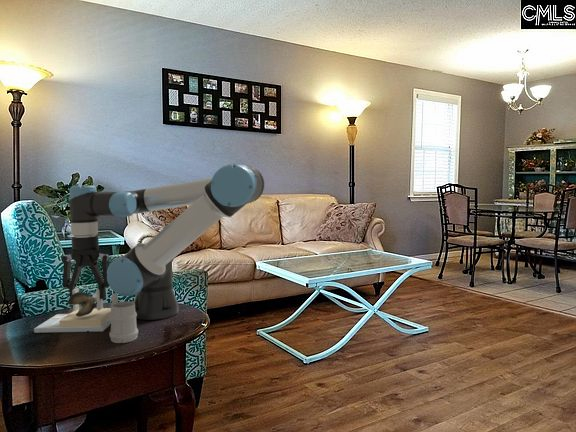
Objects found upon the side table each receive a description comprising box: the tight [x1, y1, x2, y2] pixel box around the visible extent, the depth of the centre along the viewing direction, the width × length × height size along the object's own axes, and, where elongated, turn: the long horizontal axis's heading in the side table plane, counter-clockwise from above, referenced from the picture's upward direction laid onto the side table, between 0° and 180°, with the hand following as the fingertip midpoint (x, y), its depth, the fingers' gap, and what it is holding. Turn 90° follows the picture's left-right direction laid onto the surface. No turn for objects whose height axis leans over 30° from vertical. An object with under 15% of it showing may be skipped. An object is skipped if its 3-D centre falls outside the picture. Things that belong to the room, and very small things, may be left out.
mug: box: [108, 292, 139, 344], centre depth 125 cm, size 8×12×12 cm, turn 44°
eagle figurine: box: [67, 291, 97, 317], centre depth 134 cm, size 8×7×9 cm
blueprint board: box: [33, 307, 111, 334], centre depth 136 cm, size 20×14×3 cm
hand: (88, 309), depth 136 cm, fingers closed on eagle figurine, 7 cm apart
